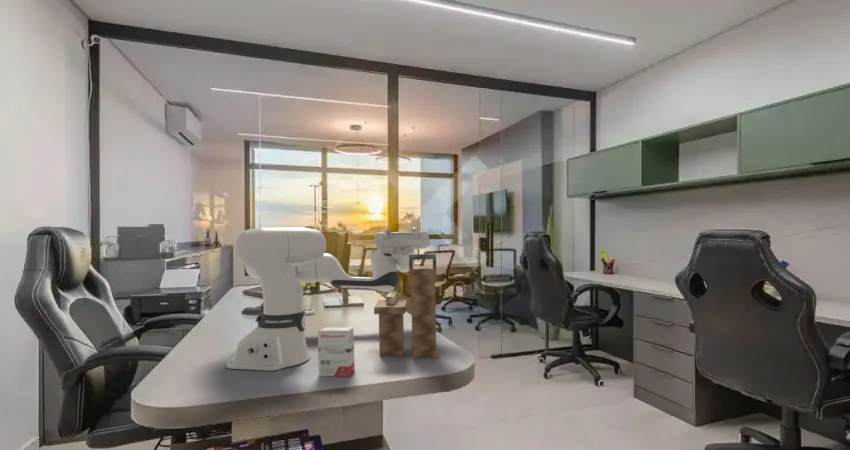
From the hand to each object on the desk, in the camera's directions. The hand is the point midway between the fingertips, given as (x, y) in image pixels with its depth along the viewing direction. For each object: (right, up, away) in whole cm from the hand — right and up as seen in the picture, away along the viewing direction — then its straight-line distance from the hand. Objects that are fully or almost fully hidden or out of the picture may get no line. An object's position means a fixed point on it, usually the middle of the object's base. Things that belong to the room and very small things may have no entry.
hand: (400, 229), depth 149 cm
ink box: (-14, -38, -40) cm, 57 cm away
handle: (-2, -23, -16) cm, 28 cm away
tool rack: (+3, -38, -21) cm, 43 cm away
